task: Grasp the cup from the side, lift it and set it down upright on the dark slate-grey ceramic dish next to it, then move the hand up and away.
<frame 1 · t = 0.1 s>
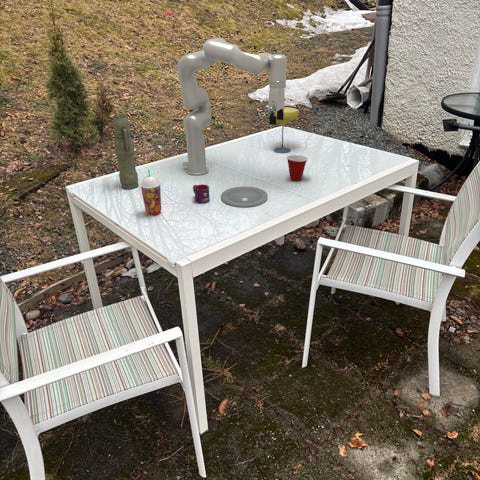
hand: (276, 122, 207), 31 cm above the table, tool pointing down, fingers open, 9 cm apart
cup: (200, 199, 207), on the table
dish: (244, 197, 208), on the table
green moai statue: (129, 186, 222), on the table
smoothie: (153, 213, 195), on the table
cocktail glass: (282, 150, 269), on the table
plastic cup: (296, 179, 228), on the table
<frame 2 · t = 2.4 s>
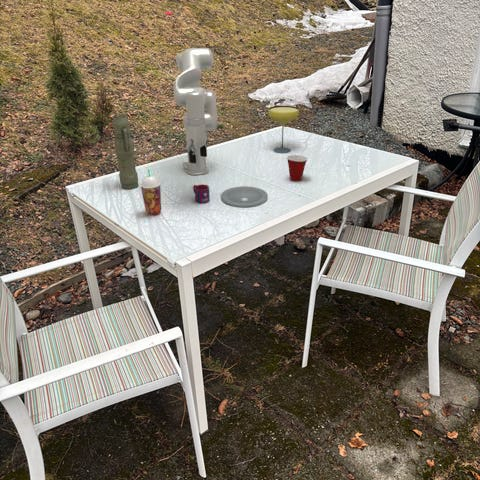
hand: (198, 159, 197), 20 cm above the table, tool pointing down, fingers open, 9 cm apart
nothing on the table moved.
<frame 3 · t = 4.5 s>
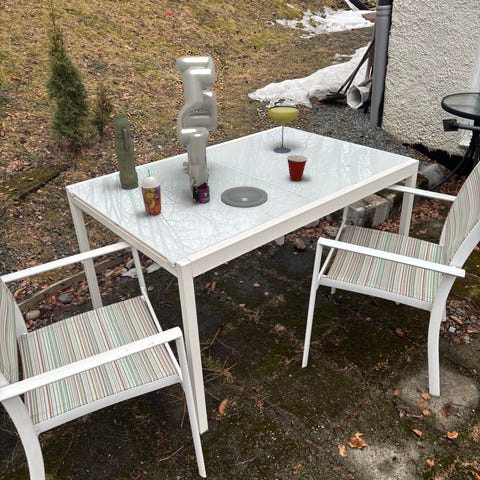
hand: (200, 195, 205), 2 cm above the table, tool pointing down, fingers open, 7 cm apart
cup: (200, 199, 207), on the table, touching gripper
everything else where it was.
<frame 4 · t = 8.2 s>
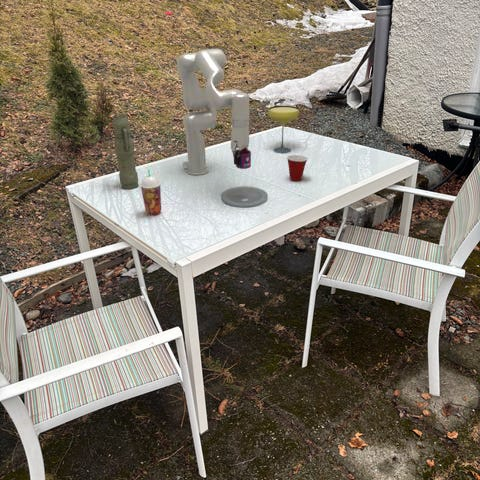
hand: (240, 161, 199), 18 cm above the table, tool pointing down, fingers closed on cup, 6 cm apart
cup: (241, 165, 201), point 16 cm above the table, touching gripper
everything else where it was.
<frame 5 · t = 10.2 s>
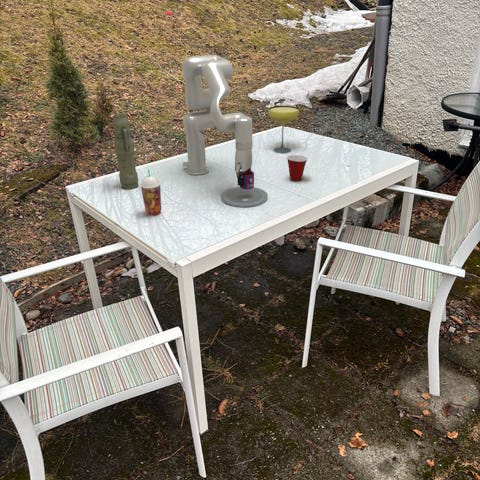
hand: (244, 182, 204), 8 cm above the table, tool pointing down, fingers closed on cup, 6 cm apart
cup: (244, 185, 206), point 6 cm above the table, touching gripper
everything else where it was.
when the fingers open (4 cm above the table, at t = 11.9 s): cup stays where it is, resting on dish.
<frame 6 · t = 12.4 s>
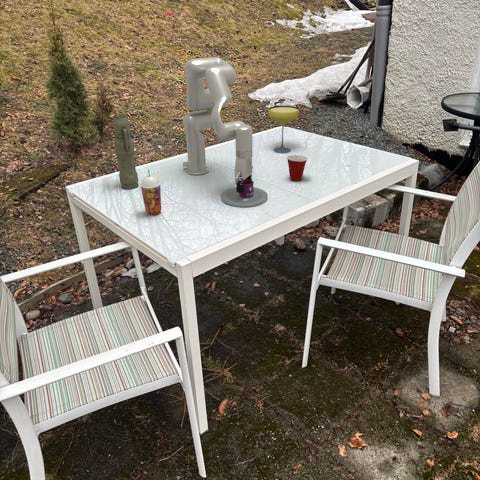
hand: (244, 188, 206), 5 cm above the table, tool pointing down, fingers open, 9 cm apart
cup: (244, 194, 208), point 1 cm above the table, touching dish
everything else where it was.
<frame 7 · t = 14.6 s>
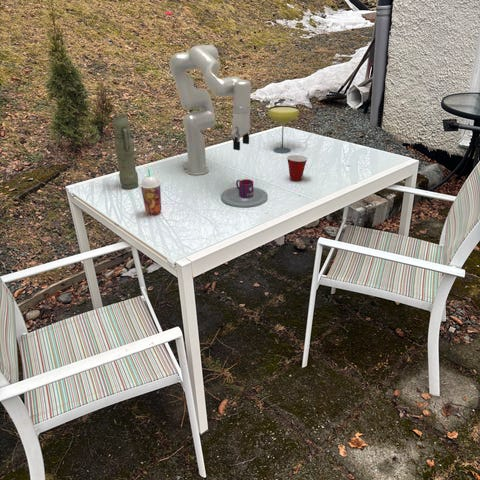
hand: (241, 146, 204), 22 cm above the table, tool pointing down, fingers open, 9 cm apart
nothing on the table moved.
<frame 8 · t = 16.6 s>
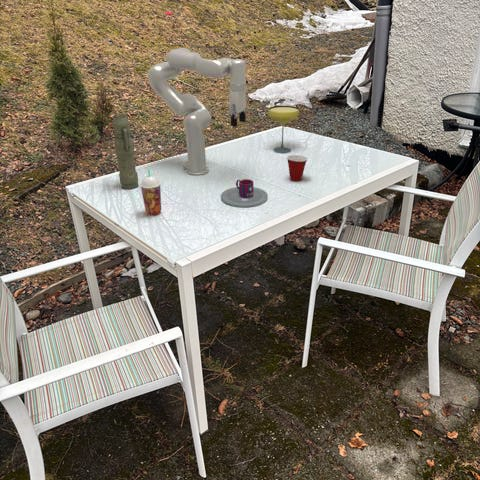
hand: (238, 123, 216), 28 cm above the table, tool pointing down, fingers open, 9 cm apart
nothing on the table moved.
at the end: cup inside the target area on the dish (0.9 cm from its centre), point 1.2 cm above the dish's base; cup tilted 0°; the gripper is holding nothing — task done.
